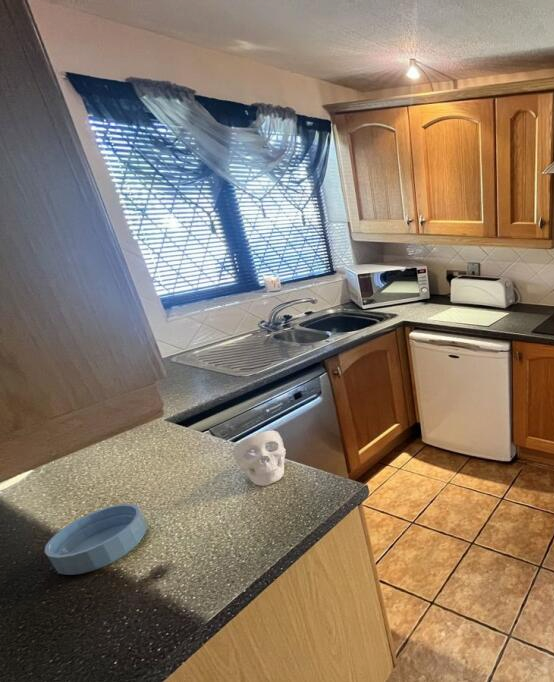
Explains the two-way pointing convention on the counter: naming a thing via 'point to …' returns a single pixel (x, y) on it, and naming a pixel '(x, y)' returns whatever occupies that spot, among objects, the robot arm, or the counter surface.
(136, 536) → the blue bowl
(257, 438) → the skull bowl
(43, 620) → the counter surface
